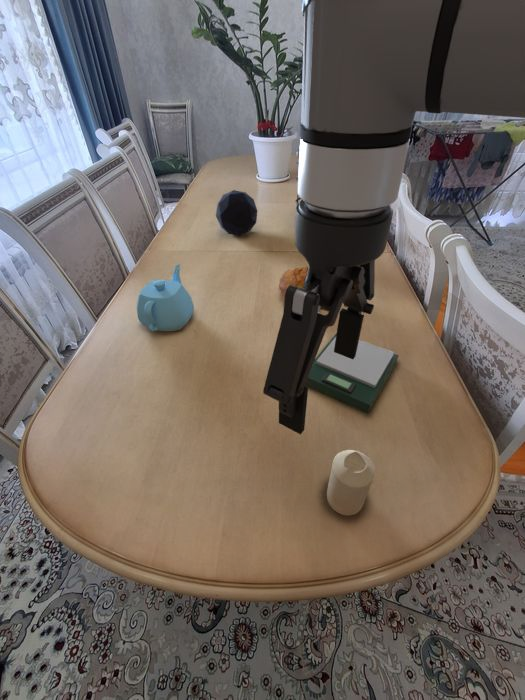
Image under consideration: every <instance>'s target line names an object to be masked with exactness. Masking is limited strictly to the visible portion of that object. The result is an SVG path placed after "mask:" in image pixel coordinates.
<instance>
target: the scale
mask: <svg viewBox="0 0 525 700" xmlns="http://www.w3.org/2000/svg"><path fill="white" fill-rule="evenodd" d="M336 334H337V332H336V333H335V334H334V335H333V337H332V338H331V339H330V340H329V342H328V343H327V344H326V345H325V346H324V347H323V349H322V350H321V351H320V352H319V354H317V355H316V358H315V360H314V363H313V365H312V368H311V370H310V373H309V376H308V378H307V381H306V383H305V386H306V387H308V388H311V389H313V390H315V391H317V392H320V393H322V394H324V395H326V396H329V397H331V398H333V399H335V400H337V401H340V402H342V403H344V404H347V405H349V406H351V407H353V408H355V409H357V410H359V411H361V412H364V413H366V414H369V412H370V410H371V409H372V407H373V405H374V404H375V402H376V400H377V398H378V397H379V395H380V393H381V391H382V389H383V388H384V386H385V384H386V382H387V380H388V378H389V377H390V375H391V373H392V372H393V369H395V366H396V364H397V362H398V360H399V359H398V358H399V354H397V353H395V352H394V351H391V350H388V349H386V348H384V347H381V346H377V345H376V344H372V343H369V342H367V341H364V340H362V339H359V342H358V347H357V351H356V356H355V358H354V359H350V358H348V357H345V356H343V355H340V354H338V353H335V352H334V347H335V341H336Z"/></svg>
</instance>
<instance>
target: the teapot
mask: <svg viewBox="0 0 525 700" xmlns="http://www.w3.org/2000/svg"><path fill="white" fill-rule="evenodd" d="M180 271H181V264H177V265H175V267H174V269H173V271H172V280H171V279H153V280H151V281H149V282H147V283H146V284H145V285H144V287H142V288H141V290H140V292H139V293H138V298H137V302H136V314H137V319H138V321H139V322H140V323H141V324H142V326H145V327H146V328H148V330H149V332H152V333H154V332H156V331H159V332H175V331H179V330H181V329H183V327H184V326H186V325H187V323H188V322H189V321H190V319H191V317H192V315H193V313H194V310H195V306H194V302H193V299H192V297H191V295H190V293H189V292H188V290H187V289H186V288H185V287H184V285H183V283H182V279H181V276H180Z"/></svg>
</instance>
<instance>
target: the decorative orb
mask: <svg viewBox="0 0 525 700" xmlns="http://www.w3.org/2000/svg"><path fill="white" fill-rule="evenodd" d="M256 205H257V204H256V202H255V199H254V198H253V197H252V196H250V195H249V194H248V193H247V192H245V191H241V190H235V189H232V190H231V191H228V192H226V193H223V195H221V197H220V199H219V201H218V202H217V204H216V211H215V212H216V213H215V217H216V219H217V222H218V224H219V226H220V228H221V229H222V230H224V231H225V232H226V233H227V234H228V235H234V236H238V237H240V236H242V235H244V234H247V233H249V232H250V231H251V230H252V229H253V228H254V226H255V225H256V224H257V220H258V208H257V206H256Z"/></svg>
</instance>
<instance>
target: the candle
mask: <svg viewBox="0 0 525 700" xmlns="http://www.w3.org/2000/svg"><path fill="white" fill-rule="evenodd" d="M374 478H375V466H374V464H373V462H372V460H371V459H370V458H369V457H368V456H367V455H365V454H364V453H362V452H361V451H359V450H355V449H346V450H342V451H340V452H338V453H337V454H336V455H335V457H334V458H333V461H332V465H331V469H330V475H329V480H328V484H327V488H326V489H327V490H326V499H327V502H328V505H329V506H330V507H331V509H332V510H333V511H334V512H336V513H338V514H339V515H342V516H354V515H357V514H358V513H359V512H361V510H362V508H363V507H364V504H365V502H366V499H367V496H368V495H369V491H370V488H371V485H372V483H373V480H374Z"/></svg>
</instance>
